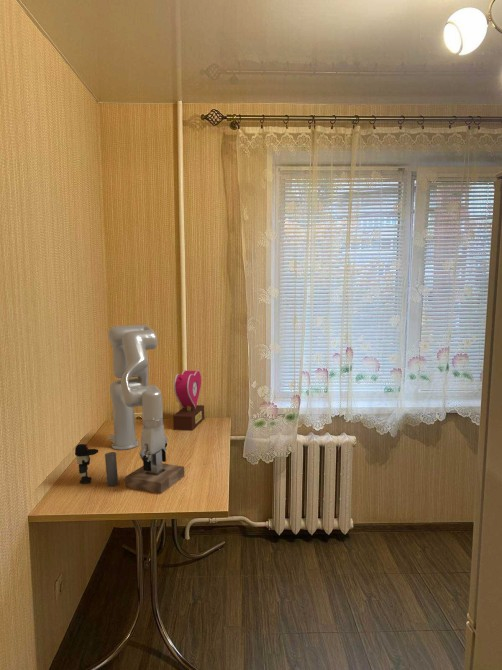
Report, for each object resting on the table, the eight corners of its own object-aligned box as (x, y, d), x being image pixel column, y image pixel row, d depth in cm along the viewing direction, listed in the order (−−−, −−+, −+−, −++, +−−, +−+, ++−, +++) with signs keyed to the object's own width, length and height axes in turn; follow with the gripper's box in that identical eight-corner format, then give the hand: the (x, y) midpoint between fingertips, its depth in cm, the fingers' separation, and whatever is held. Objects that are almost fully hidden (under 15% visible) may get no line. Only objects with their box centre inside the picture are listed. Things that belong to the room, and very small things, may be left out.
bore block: (125, 486, 177) (125, 476, 176) (150, 470, 191) (150, 461, 191) (161, 493, 170) (161, 483, 170) (184, 476, 185) (184, 466, 185)
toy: (99, 484, 180) (96, 446, 178) (75, 486, 178) (72, 448, 176) (100, 476, 187) (98, 439, 185) (78, 478, 185) (75, 441, 183)
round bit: (105, 485, 178) (102, 455, 177) (111, 481, 182) (109, 451, 180) (114, 487, 177) (111, 456, 175) (120, 482, 180) (118, 452, 179)
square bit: (148, 483, 180) (146, 452, 178) (154, 478, 183) (152, 449, 182) (157, 484, 178) (156, 454, 177) (163, 480, 182) (161, 450, 181)
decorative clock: (190, 432, 239) (188, 374, 235) (171, 431, 241) (168, 374, 237) (204, 418, 263) (203, 365, 259) (187, 417, 265) (185, 365, 261)
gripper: (157, 415, 188) (159, 456, 190) (130, 428, 172) (133, 473, 174) (173, 417, 185) (175, 459, 187) (147, 430, 169) (149, 476, 171)
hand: (155, 465), depth 180 cm, fingers open, 9 cm apart
